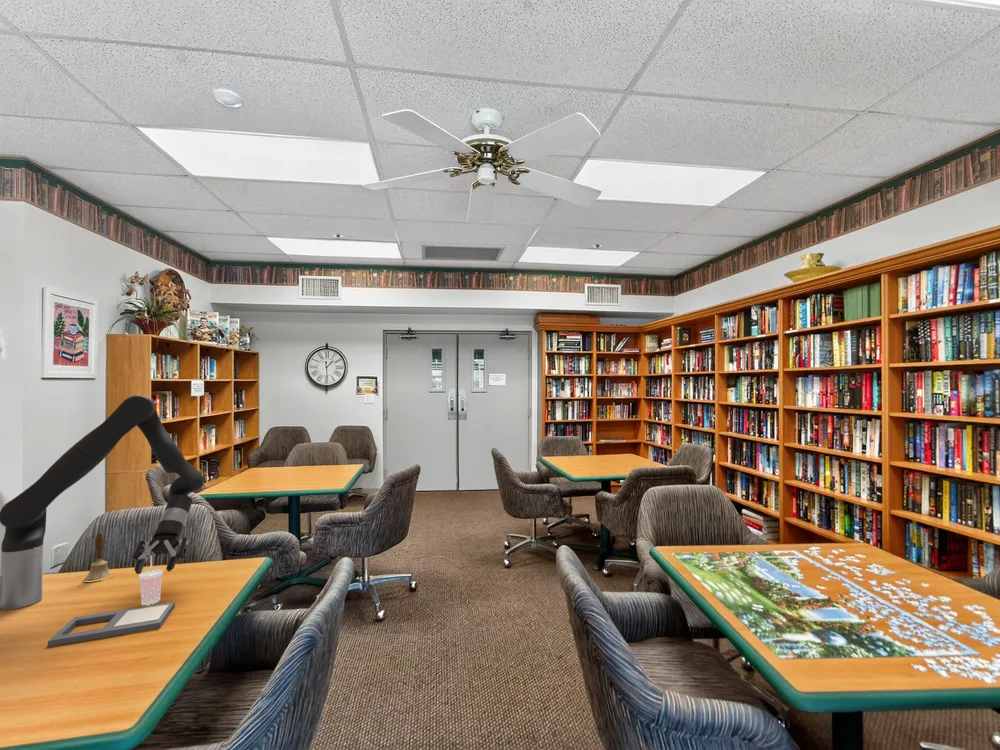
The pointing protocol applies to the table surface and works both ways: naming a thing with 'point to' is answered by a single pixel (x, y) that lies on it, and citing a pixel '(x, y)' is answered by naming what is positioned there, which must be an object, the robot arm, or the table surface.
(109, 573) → the hand bell
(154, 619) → the hole board
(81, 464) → the robot arm
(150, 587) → the beverage cup
